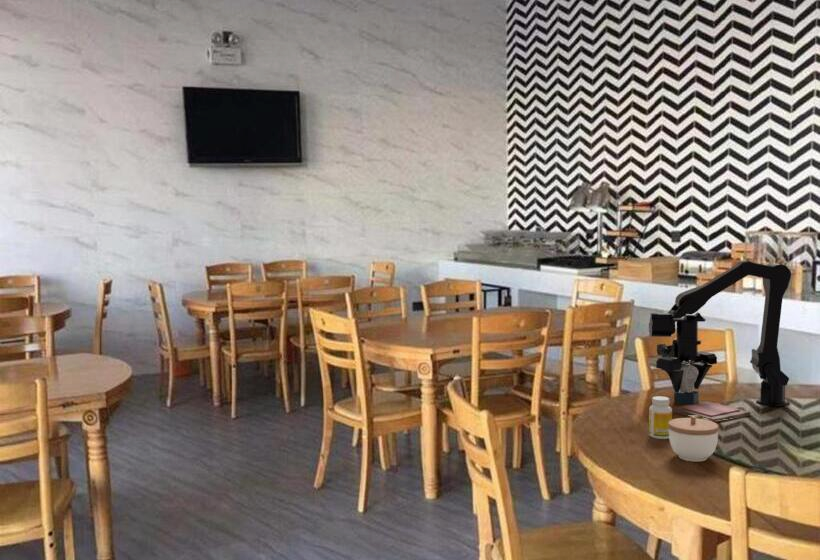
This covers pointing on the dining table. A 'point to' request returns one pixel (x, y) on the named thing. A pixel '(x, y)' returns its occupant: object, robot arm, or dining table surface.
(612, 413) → the dining table surface
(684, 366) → the watch
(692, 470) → the dining table surface
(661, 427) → the supplement bottle
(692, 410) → the pink square tray
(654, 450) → the dining table surface
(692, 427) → the lidded jar
